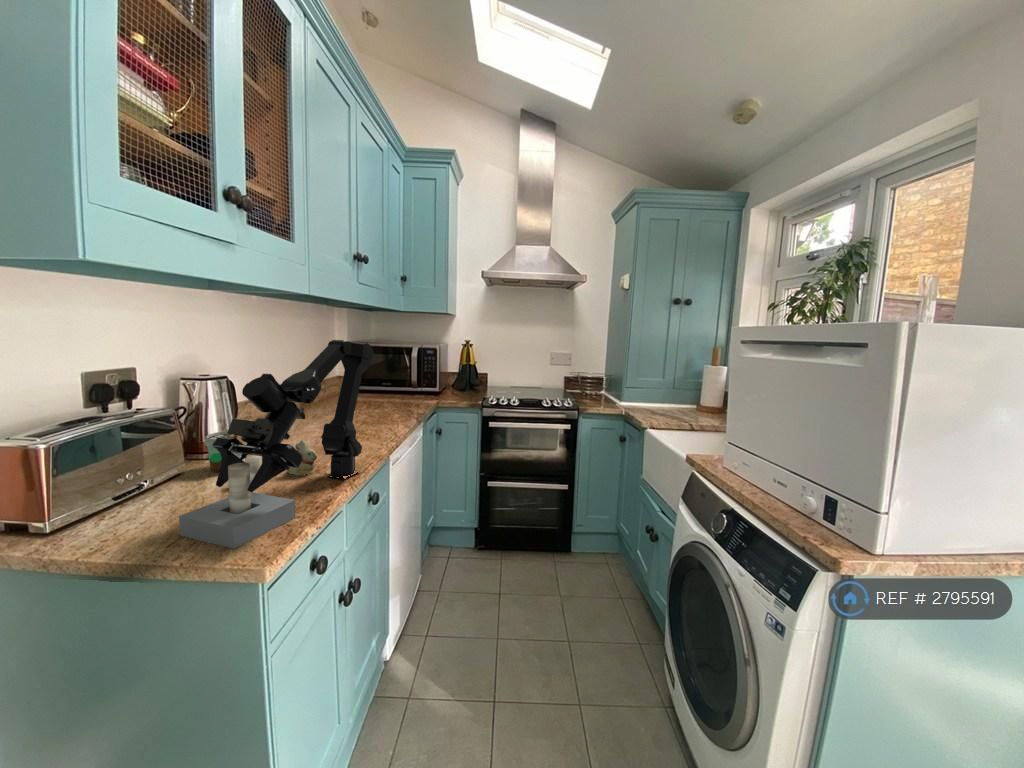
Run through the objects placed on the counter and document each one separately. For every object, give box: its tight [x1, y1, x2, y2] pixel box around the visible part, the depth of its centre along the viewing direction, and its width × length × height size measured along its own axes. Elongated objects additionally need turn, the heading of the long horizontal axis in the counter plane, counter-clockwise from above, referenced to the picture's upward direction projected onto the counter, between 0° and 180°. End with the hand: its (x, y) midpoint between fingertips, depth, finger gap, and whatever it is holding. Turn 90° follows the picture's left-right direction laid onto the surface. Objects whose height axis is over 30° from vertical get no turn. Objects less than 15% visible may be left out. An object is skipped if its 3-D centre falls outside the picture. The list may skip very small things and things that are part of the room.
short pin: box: [244, 455, 262, 483], centre depth 105 cm, size 4×4×7 cm
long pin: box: [228, 463, 251, 514], centre depth 81 cm, size 4×4×13 cm
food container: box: [203, 430, 231, 474], centre depth 113 cm, size 12×6×10 cm, turn 44°
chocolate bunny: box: [286, 439, 318, 476], centre depth 113 cm, size 6×8×10 cm
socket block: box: [178, 491, 296, 550], centre depth 81 cm, size 14×14×4 cm
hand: (233, 488), depth 79 cm, fingers open, 8 cm apart
